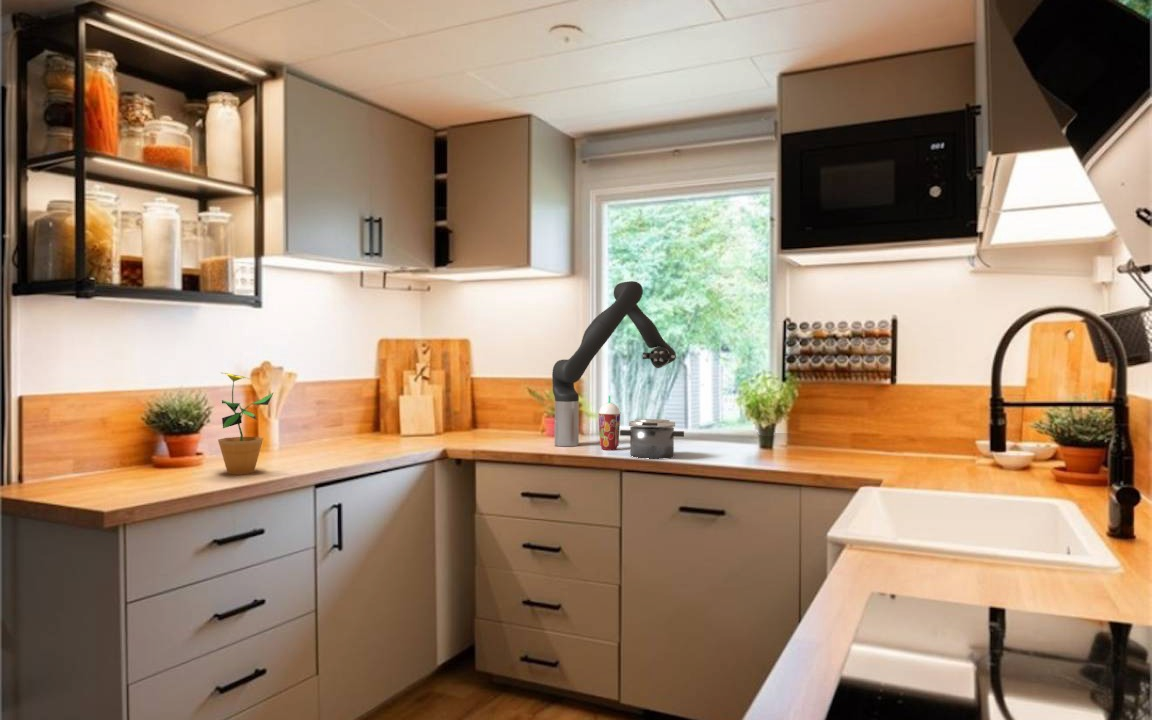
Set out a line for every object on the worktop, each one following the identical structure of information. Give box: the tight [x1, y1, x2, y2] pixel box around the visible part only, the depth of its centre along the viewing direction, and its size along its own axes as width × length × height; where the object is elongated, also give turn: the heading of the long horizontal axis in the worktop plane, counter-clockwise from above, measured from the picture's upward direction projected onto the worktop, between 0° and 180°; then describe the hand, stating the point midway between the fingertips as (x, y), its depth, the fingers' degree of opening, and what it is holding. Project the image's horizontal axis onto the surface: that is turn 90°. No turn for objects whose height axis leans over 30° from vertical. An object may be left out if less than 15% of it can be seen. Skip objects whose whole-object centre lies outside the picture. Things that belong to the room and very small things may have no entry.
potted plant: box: [217, 372, 274, 475], centre depth 229 cm, size 18×19×30 cm
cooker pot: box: [619, 426, 685, 460], centre depth 268 cm, size 17×22×10 cm
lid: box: [628, 418, 676, 428], centre depth 266 cm, size 19×16×2 cm
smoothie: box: [597, 395, 622, 451], centre depth 286 cm, size 8×8×20 cm
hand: (657, 355), depth 288 cm, fingers closed
